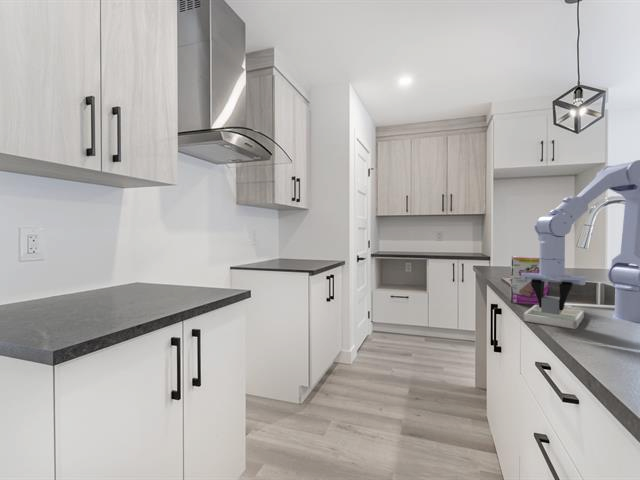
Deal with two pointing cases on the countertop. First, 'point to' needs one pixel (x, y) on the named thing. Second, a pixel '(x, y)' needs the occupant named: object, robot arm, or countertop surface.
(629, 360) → the countertop surface
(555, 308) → the slate block
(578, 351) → the countertop surface
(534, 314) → the two-bin tray
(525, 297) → the candy bar box
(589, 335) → the countertop surface
